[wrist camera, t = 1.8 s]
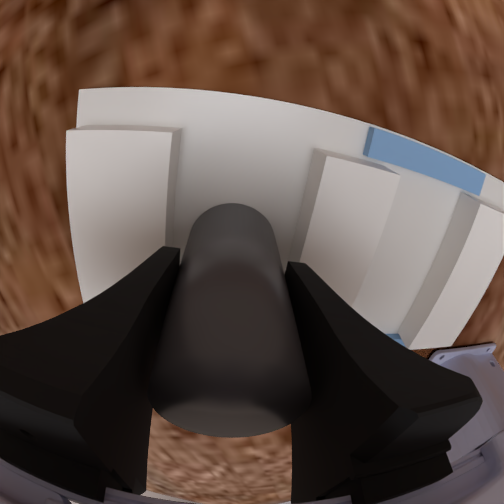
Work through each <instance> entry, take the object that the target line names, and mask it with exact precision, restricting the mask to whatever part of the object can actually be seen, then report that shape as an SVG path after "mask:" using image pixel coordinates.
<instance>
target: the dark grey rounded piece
mask: <svg viewBox="0 0 504 504" xmlns="http://www.w3.org/2000/svg"><path fill="white" fill-rule="evenodd" d="M147 395H148V399H149V402H150V404H151V405H152V407H153V408H154V410H155V411H156V412H157V413H158V414H159V415H160V416H162V417H163V418H164V419H166V420H167V421H169V422H171V423H172V424H174V425H176V426H178V427H180V428H183V429H186V430H188V431H191V432H195V433H199V434H203V435H208V436H215V437H249V436H256V435H261V434H265V433H269V432H272V431H275V430H278V429H280V428H283V427H285V426H287V425H289V424H291V423H292V422H294V421H295V420H297V419H298V418H299V417H300V416H301V415H302V414H304V412H305V411H306V410H307V409H308V407H309V405H310V403H311V399H312V392H311V387H310V383H309V378H308V373H307V369H306V364H305V360H304V356H303V351H302V347H301V342H300V338H299V334H298V329H297V325H296V321H295V316H294V312H293V308H292V304H291V300H290V295H289V291H288V287H287V283H286V279H285V275H284V271H283V267H282V263H281V259H280V255H279V251H278V247H277V243H276V239H275V235H274V231H273V229H272V226H271V224H270V223H269V221H268V220H267V219H266V218H265V216H264V215H262V214H261V213H260V212H259V211H257V210H256V209H254V208H252V207H250V206H247V205H243V204H238V203H226V204H220V205H217V206H214V207H212V208H210V209H208V210H207V211H205V212H204V213H203V214H201V215H200V216H199V217H198V219H197V220H196V221H195V223H194V224H193V226H192V229H191V231H190V235H189V238H188V241H187V244H186V247H185V250H184V254H183V257H182V260H181V263H180V267H179V270H178V273H177V277H176V280H175V283H174V287H173V290H172V294H171V297H170V301H169V304H168V308H167V312H166V315H165V319H164V323H163V327H162V330H161V334H160V338H159V342H158V346H157V350H156V354H155V358H154V362H153V367H152V371H151V375H150V380H149V384H148V389H147Z"/></svg>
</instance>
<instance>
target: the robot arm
mask: <svg viewBox="0 0 504 504" xmlns="http://www.w3.org/2000/svg"><path fill="white" fill-rule="evenodd" d="M179 267H180V248H175V247H167V246H162V247H161V248H160V249H158V250H157V251H156V252H155V253H153V254H152V255H151V256H150V257H149V258H147V259H146V260H145V261H144V262H142V263H141V264H140V265H139V266H138V267H136V268H135V269H134V270H133V271H131V272H130V273H129V274H127V275H126V276H125V277H123V278H122V279H121V280H119V281H118V282H116V283H115V284H114V285H112V286H111V287H109V288H108V289H106V290H105V291H103V292H102V293H100V294H98V295H97V296H95V297H93V298H92V299H90V300H88V301H87V302H85V303H83V304H81V305H79V306H77V307H75V308H73V309H71V310H69V311H67V312H65V313H63V314H60V315H58V316H56V317H54V318H52V319H49V320H47V321H44V322H42V323H39V324H36V325H34V326H31V327H28V328H25V329H22V330H19V331H16V332H12V333H8V334H5V335H1V336H0V504H71V502H70V501H69V500H71V501H73V502H76V503H79V504H194V503H184V502H176V501H169V500H163V499H157V498H151V497H146V496H141V494H143V493H144V492H145V491H146V479H147V459H148V446H149V435H150V426H151V417H152V409H153V407H152V405H151V404H150V402H149V399H148V395H147V389H148V384H149V380H150V375H151V371H152V367H153V362H154V358H155V354H156V350H157V346H158V342H159V338H160V334H161V330H162V327H163V323H164V319H165V315H166V312H167V308H168V304H169V301H170V297H171V294H172V290H173V287H174V283H175V280H176V277H177V273H178V270H179ZM284 275H285V279H286V283H287V287H288V291H289V295H290V300H291V304H292V308H293V312H294V316H295V321H296V325H297V329H298V334H299V338H300V342H301V347H302V351H303V356H304V360H305V364H306V369H307V373H308V378H309V383H310V387H311V392H312V399H311V403H310V405H309V407H308V409H307V410H306V411H305V412H304V414H302V415H301V416H300V417H299V418H298V419H297V420H295V421H294V422H292V423H291V433H292V492H291V504H504V371H503V369H502V368H501V366H500V365H499V363H498V362H497V360H496V359H495V357H494V356H493V354H492V352H493V351H494V349H495V348H496V344H495V343H490V344H484V345H477V346H470V347H463V348H455V349H446V350H438V351H436V352H434V353H433V354H432V355H431V357H430V358H429V359H426V358H424V357H422V356H420V355H418V354H417V353H415V352H413V351H411V350H409V349H408V348H406V347H405V346H403V345H401V344H400V343H398V342H396V341H395V340H393V339H392V338H390V337H389V336H387V335H386V334H384V333H383V332H382V331H380V330H379V329H378V328H376V327H375V326H374V325H372V324H371V323H370V322H368V321H367V320H366V319H365V318H363V317H362V316H361V315H360V314H359V313H357V312H356V311H355V310H354V309H353V308H352V307H351V306H349V305H348V304H347V303H346V302H345V301H344V300H343V299H342V298H341V297H340V296H339V295H338V294H337V293H336V292H335V291H334V290H333V289H332V288H331V287H330V286H328V285H327V284H326V283H325V282H324V281H323V280H322V279H321V278H320V277H319V276H318V275H317V274H316V273H315V272H314V271H313V270H312V269H311V268H310V267H309V266H308V265H307V264H306V263H300V262H292V261H288V263H287V267H286V271H285V274H284Z"/></svg>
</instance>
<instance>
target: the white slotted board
mask: <svg viewBox="0 0 504 504" xmlns="http://www.w3.org/2000/svg"><path fill="white" fill-rule="evenodd" d="M66 176H67V195H68V208H69V219H70V228H71V236H72V243H73V250H74V257H75V263H76V269H77V274H78V280H79V285H80V290H81V294H82V299H83V303H85V302H87V301H88V300H90V299H92V298H93V297H95V296H97V295H98V294H100V293H102V292H103V291H105V290H106V289H108V288H109V287H111V286H112V285H114V284H115V283H116V282H118V281H119V280H121V279H122V278H123V277H125V276H126V275H127V274H129V273H130V272H131V271H133V270H134V269H135V268H136V267H138V266H139V265H140V264H141V263H142V262H144V261H145V260H146V259H147V258H149V257H150V256H151V255H152V254H153V253H155V252H156V251H157V250H158V249H160V248H161V247H162V246H167V247H175V248H180V263H181V260H182V257H183V254H184V250H185V247H186V244H187V241H188V238H189V235H190V231H191V229H192V226H193V224H194V223H195V221H196V220H197V219H198V217H199V216H200V215H201V214H203V213H204V212H205V211H207V210H208V209H210V208H212V207H214V206H217V205H220V204H226V203H238V204H243V205H247V206H250V207H252V208H254V209H256V210H257V211H259V212H260V213H261V214H262V215H264V216H265V218H266V219H267V220H268V221H269V223H270V224H271V226H272V229H273V231H274V235H275V239H276V243H277V247H278V251H279V255H280V259H281V263H282V267H283V271H284V274H285V271H286V267H287V263H288V261H292V262H300V263H306V264H307V265H308V266H309V267H310V268H311V269H312V270H313V271H314V272H315V273H316V274H317V275H318V276H319V277H320V278H321V279H322V280H323V281H324V282H325V283H326V284H327V285H328V286H330V287H331V288H332V289H333V290H334V291H335V292H336V293H337V294H338V295H339V296H340V297H341V298H342V299H343V300H344V301H345V302H346V303H347V304H348V305H349V306H351V307H352V308H353V309H354V310H355V311H356V312H357V313H359V314H360V315H361V316H362V317H363V318H365V319H366V320H367V321H368V322H370V323H371V324H372V325H374V326H375V327H376V328H378V329H379V330H380V331H382V332H383V333H384V334H386V335H387V336H389V337H390V338H392V339H393V340H395V341H396V342H398V343H400V344H401V345H403V346H405V347H406V348H408V349H409V350H413V349H427V348H438V347H448V346H451V345H452V344H453V343H454V341H455V340H456V338H457V337H458V335H459V334H460V332H461V331H462V329H463V328H464V326H465V325H466V323H467V321H468V320H469V318H470V317H471V315H472V313H473V312H474V310H475V308H476V307H477V305H478V303H479V302H480V300H481V298H482V296H483V295H484V293H485V291H486V289H487V287H488V285H489V284H490V282H491V280H492V278H493V276H494V274H495V272H496V270H497V268H498V266H499V264H500V262H501V259H502V257H503V255H504V182H502V181H500V180H499V179H497V178H495V177H493V176H491V175H490V174H488V173H486V172H484V171H482V170H480V169H478V168H476V167H474V166H472V165H470V164H468V163H466V162H464V161H462V160H460V159H458V158H456V157H454V156H452V155H450V154H447V153H445V152H443V151H441V150H438V149H436V148H434V147H431V146H429V145H426V144H424V143H422V142H419V141H417V140H414V139H411V138H409V137H406V136H404V135H401V134H398V133H395V132H393V131H390V130H387V129H384V128H381V127H378V126H375V125H372V124H369V123H366V122H362V121H359V120H356V119H352V118H349V117H345V116H342V115H338V114H334V113H331V112H327V111H323V110H319V109H315V108H310V107H306V106H302V105H297V104H292V103H287V102H282V101H277V100H272V99H266V98H260V97H254V96H247V95H240V94H233V93H225V92H216V91H206V90H195V89H180V88H158V87H116V88H95V89H81V90H79V97H78V110H77V127H76V128H74V129H70V130H67V131H66Z"/></svg>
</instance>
